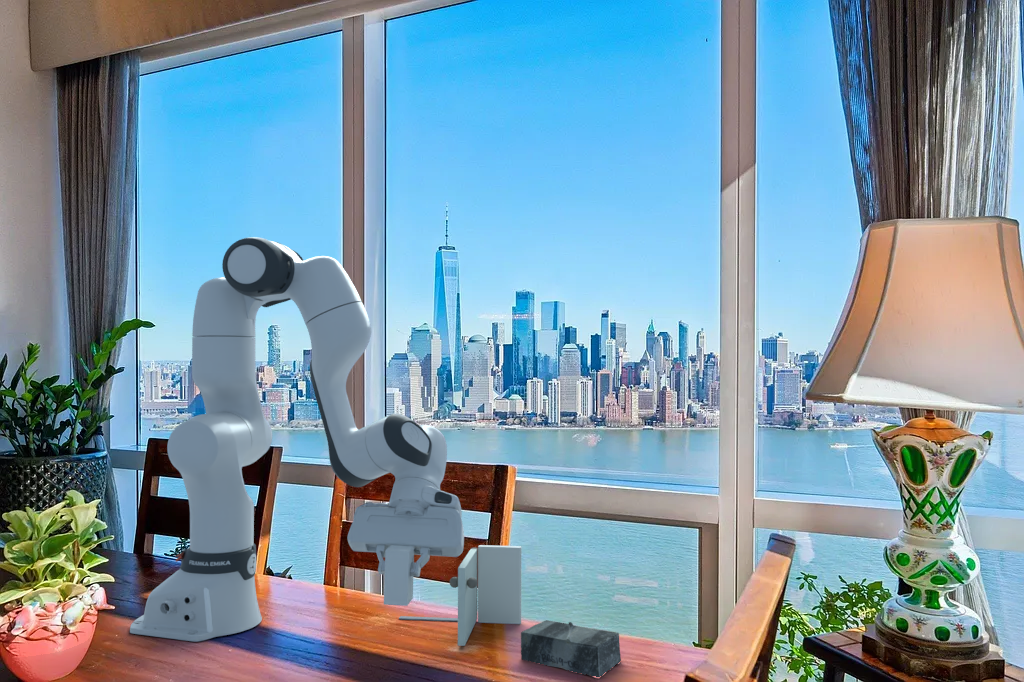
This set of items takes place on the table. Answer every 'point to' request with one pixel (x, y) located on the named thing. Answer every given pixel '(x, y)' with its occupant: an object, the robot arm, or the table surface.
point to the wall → (495, 586)
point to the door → (466, 595)
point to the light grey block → (398, 575)
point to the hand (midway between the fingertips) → (398, 573)
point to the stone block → (571, 647)
